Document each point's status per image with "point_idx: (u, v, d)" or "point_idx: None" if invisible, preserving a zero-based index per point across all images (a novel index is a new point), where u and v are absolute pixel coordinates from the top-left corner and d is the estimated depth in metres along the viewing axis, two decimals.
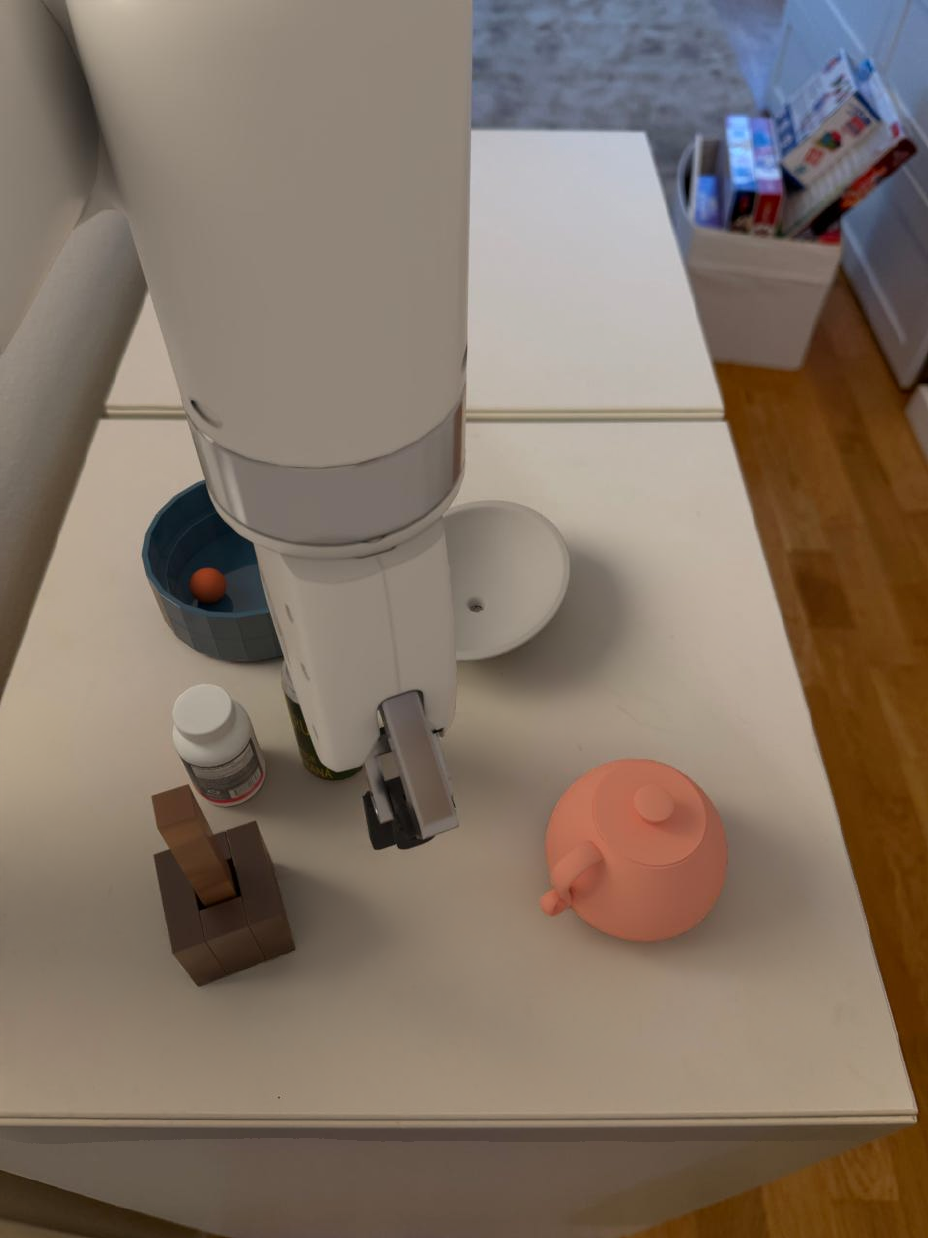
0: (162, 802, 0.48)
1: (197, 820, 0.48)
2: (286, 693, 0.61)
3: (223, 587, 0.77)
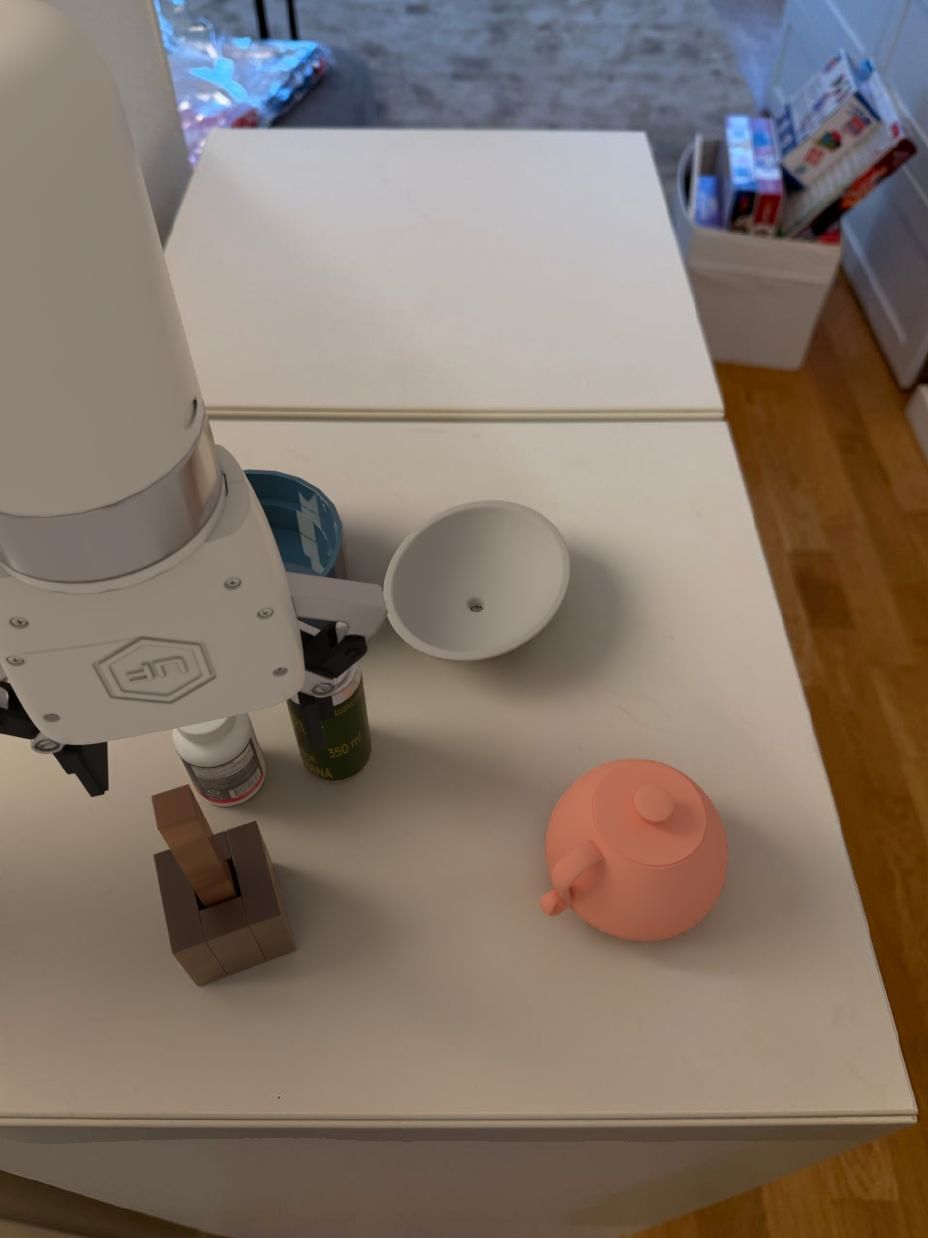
0: (162, 802, 0.48)
1: (197, 820, 0.48)
2: None
3: None
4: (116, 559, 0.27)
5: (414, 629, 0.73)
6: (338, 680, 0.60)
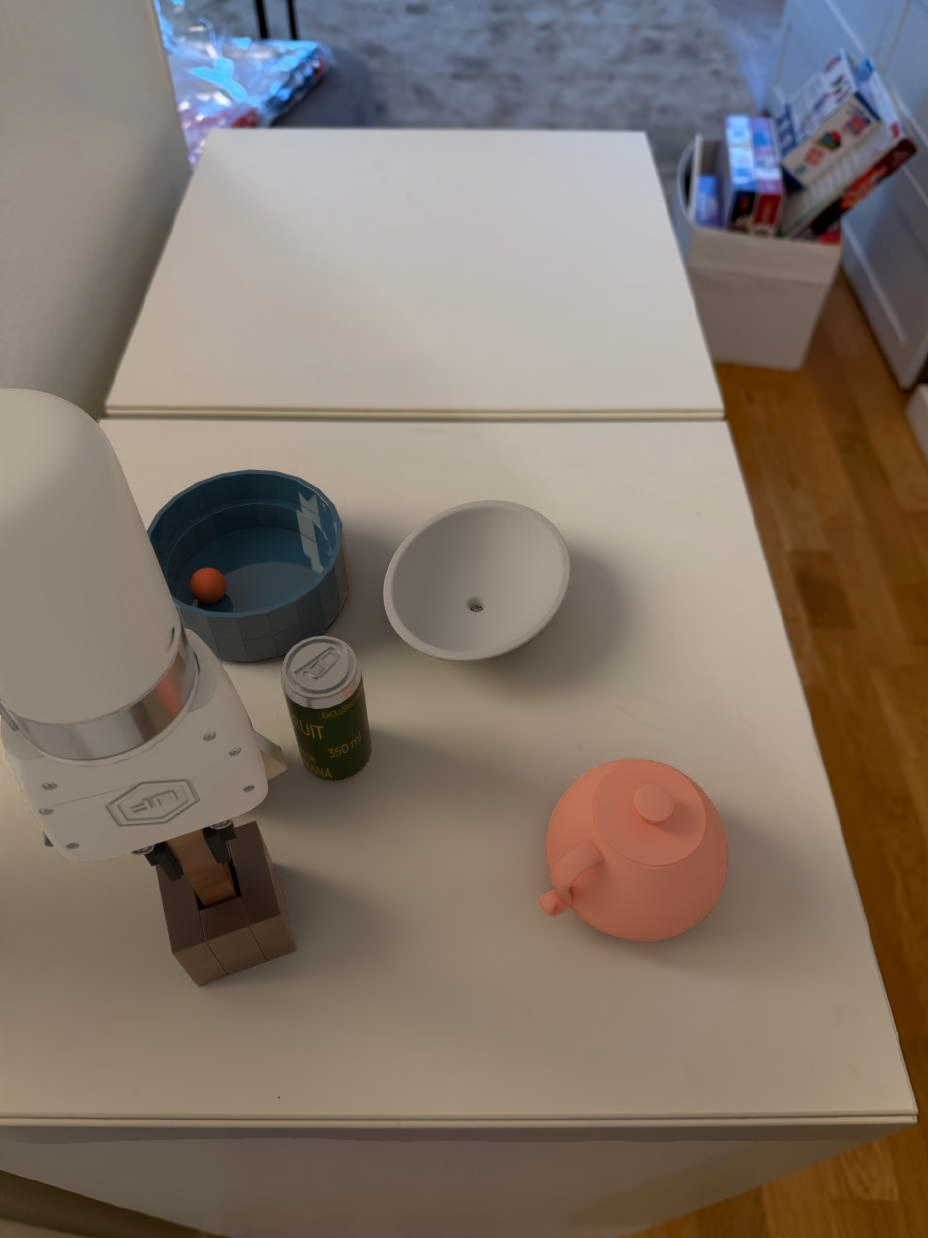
0: None
1: None
2: (286, 693, 0.61)
3: (223, 587, 0.77)
4: (126, 740, 0.36)
5: (414, 629, 0.73)
6: (338, 680, 0.60)
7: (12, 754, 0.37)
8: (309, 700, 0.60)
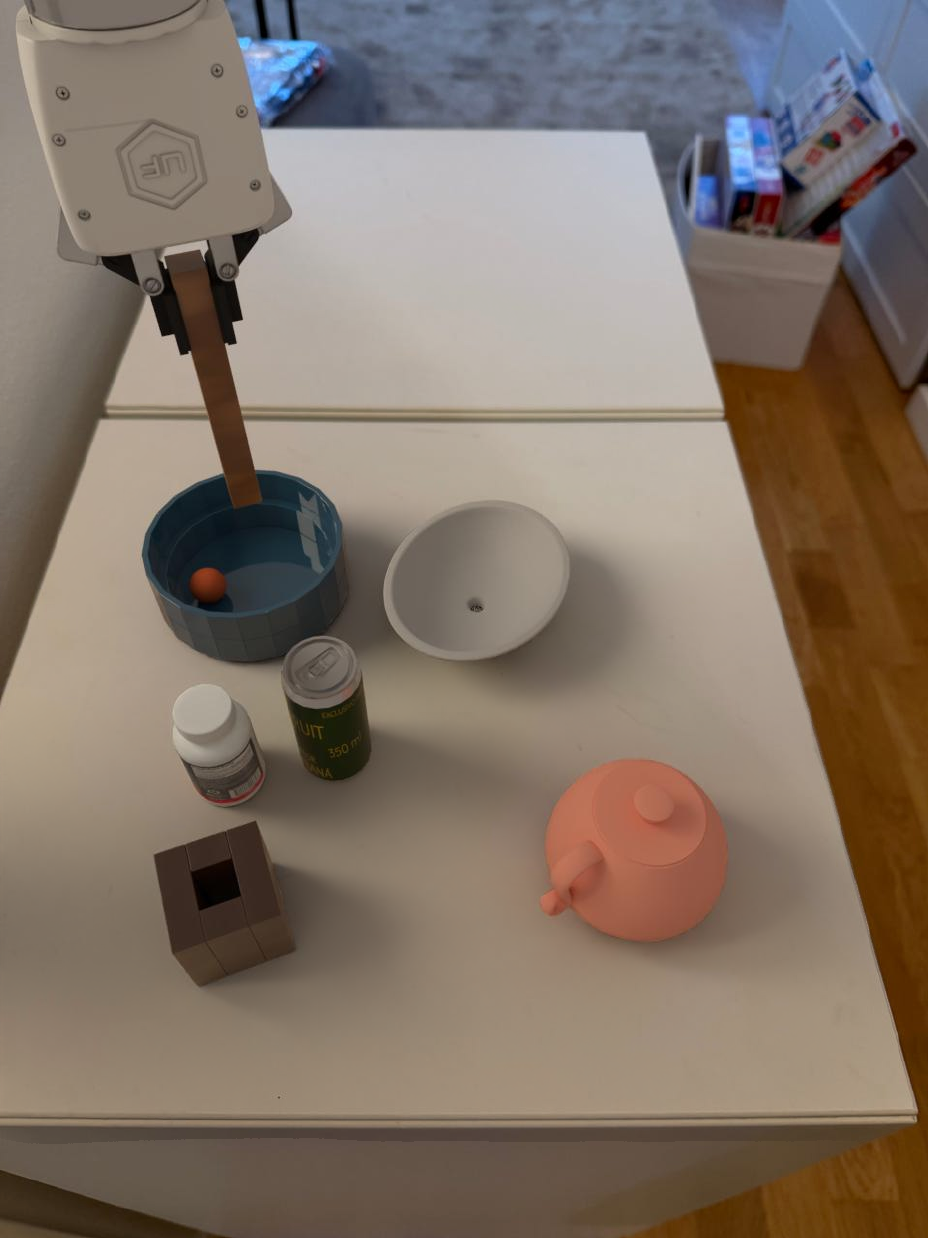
0: (174, 259, 0.50)
1: (208, 277, 0.50)
2: (286, 693, 0.61)
3: (223, 587, 0.77)
4: (136, 5, 0.37)
5: (414, 629, 0.73)
6: (338, 680, 0.60)
7: (27, 38, 0.38)
8: (309, 700, 0.60)
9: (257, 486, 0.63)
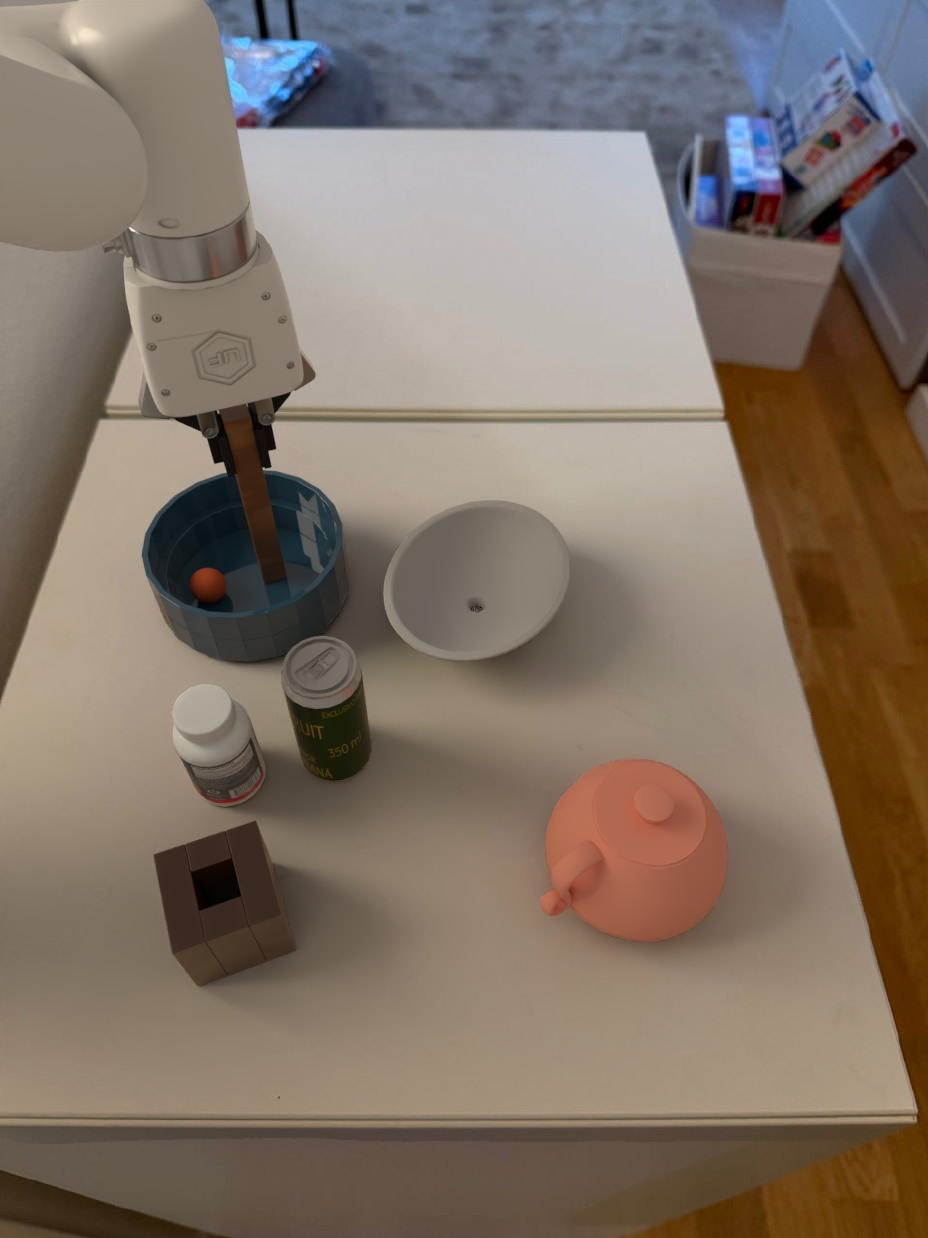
0: (226, 408, 0.66)
1: (251, 422, 0.66)
2: (286, 693, 0.61)
3: (223, 587, 0.77)
4: (213, 266, 0.53)
5: (414, 629, 0.73)
6: (338, 680, 0.60)
7: (133, 284, 0.54)
8: (309, 700, 0.60)
9: (283, 567, 0.79)
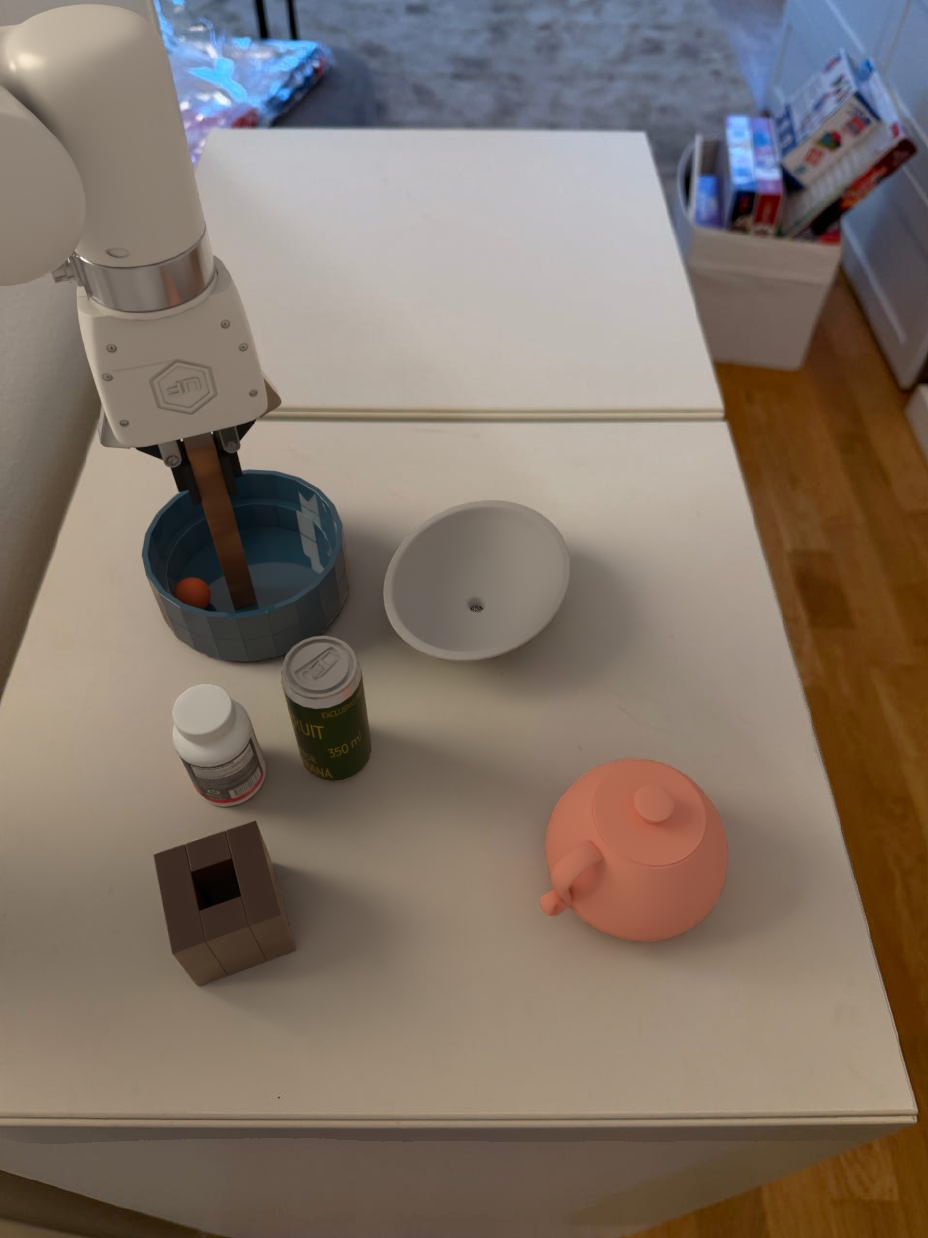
0: None
1: (215, 449, 0.64)
2: (286, 693, 0.61)
3: (199, 597, 0.76)
4: (168, 296, 0.52)
5: (414, 629, 0.73)
6: (338, 680, 0.60)
7: (86, 314, 0.52)
8: (309, 700, 0.60)
9: (253, 592, 0.77)
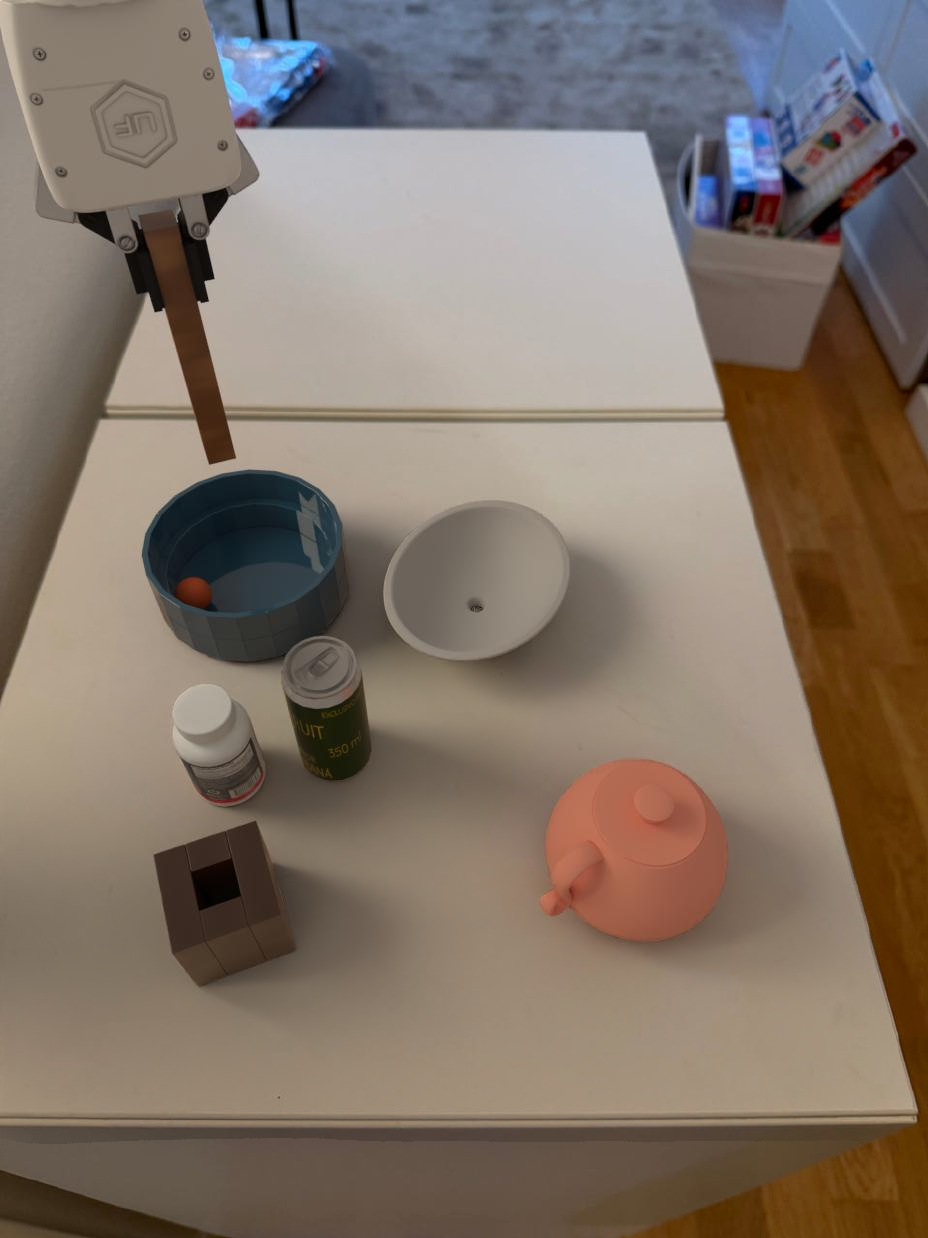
0: (148, 217, 0.53)
1: (180, 235, 0.53)
2: (286, 693, 0.61)
3: (201, 597, 0.76)
4: None
5: (414, 629, 0.73)
6: (338, 680, 0.60)
7: (5, 1, 0.41)
8: (309, 700, 0.60)
9: (231, 442, 0.66)
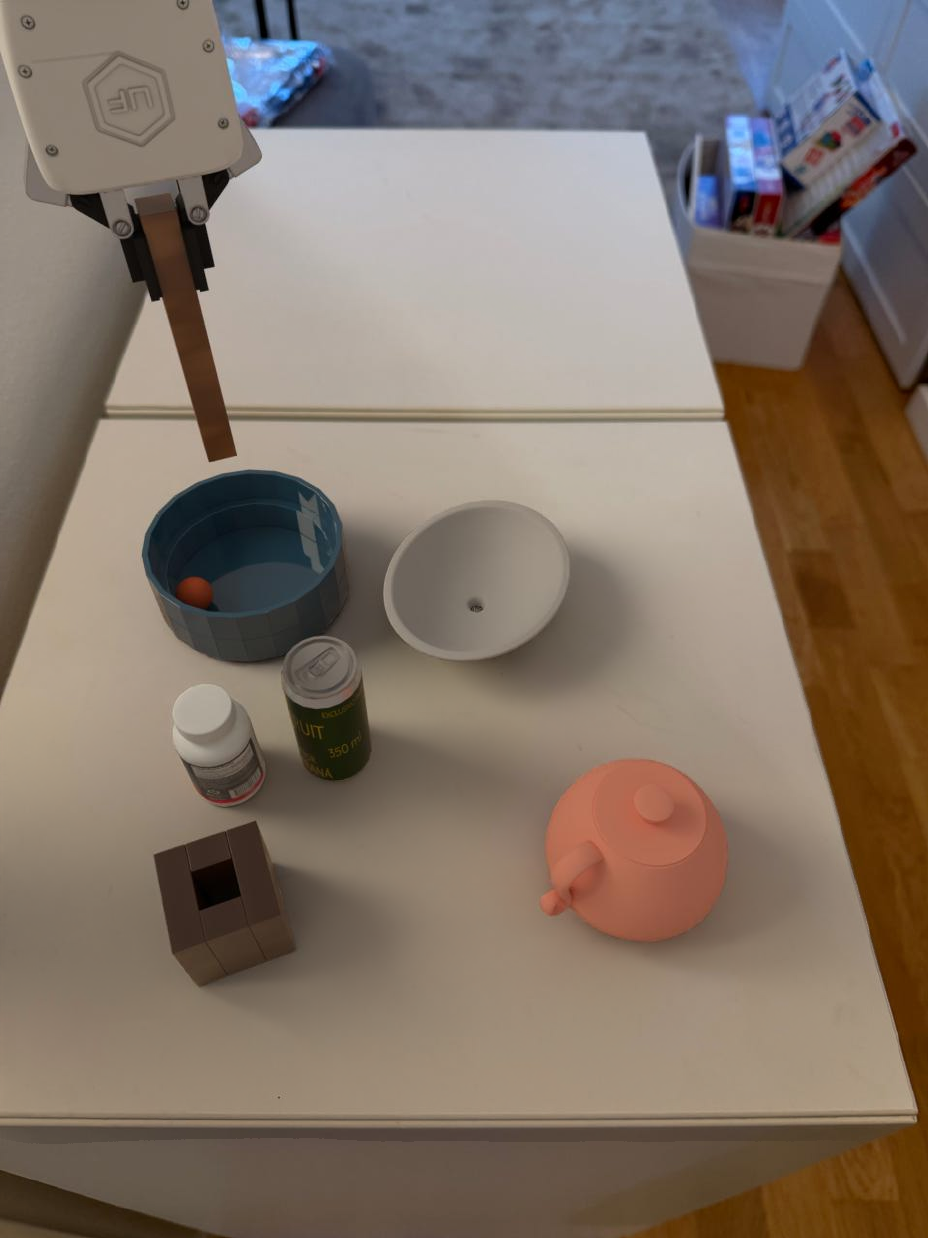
0: (144, 201, 0.50)
1: (178, 219, 0.50)
2: (286, 693, 0.61)
3: (203, 597, 0.76)
4: None
5: (414, 629, 0.73)
6: (338, 680, 0.60)
7: None
8: (309, 700, 0.60)
9: (231, 439, 0.63)
